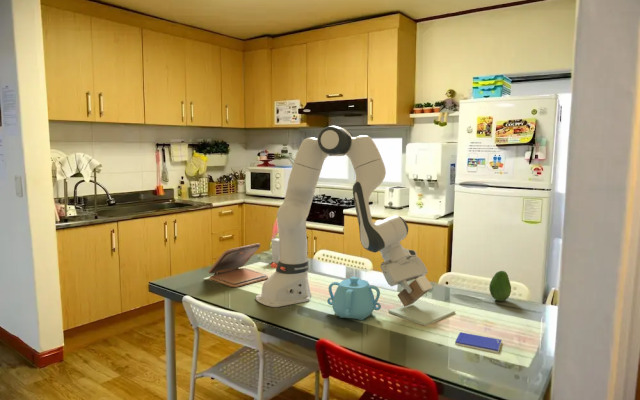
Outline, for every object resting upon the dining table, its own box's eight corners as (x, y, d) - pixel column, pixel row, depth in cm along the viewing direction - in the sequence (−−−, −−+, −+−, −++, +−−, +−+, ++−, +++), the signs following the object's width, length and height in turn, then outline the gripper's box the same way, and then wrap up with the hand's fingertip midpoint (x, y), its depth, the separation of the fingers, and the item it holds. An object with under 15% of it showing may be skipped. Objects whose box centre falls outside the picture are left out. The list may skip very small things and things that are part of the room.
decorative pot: (384, 319, 156) (385, 282, 154) (342, 326, 150) (343, 286, 149) (363, 304, 171) (364, 269, 169) (324, 309, 165) (325, 273, 164)
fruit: (510, 299, 178) (512, 269, 176) (510, 305, 171) (511, 274, 169) (489, 296, 181) (491, 267, 180) (487, 302, 174) (489, 272, 172)
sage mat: (425, 325, 151) (425, 323, 151) (388, 312, 163) (388, 310, 163) (455, 313, 162) (455, 310, 162) (418, 301, 174) (418, 299, 174)
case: (243, 270, 217) (242, 237, 215) (271, 279, 203) (270, 244, 201) (206, 279, 203) (205, 244, 201) (233, 289, 188) (232, 252, 186)
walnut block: (404, 306, 165) (424, 290, 158) (397, 294, 167) (416, 278, 160) (412, 303, 169) (432, 287, 161) (405, 292, 171) (425, 275, 163)
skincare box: (285, 263, 230) (285, 239, 228) (278, 264, 227) (277, 241, 225) (278, 260, 234) (278, 237, 233) (271, 262, 231) (271, 238, 230)
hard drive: (501, 339, 138) (460, 331, 144) (498, 349, 131) (455, 341, 137) (501, 343, 139) (460, 336, 144) (498, 354, 131) (454, 346, 137)
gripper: (383, 258, 161) (404, 291, 155) (418, 250, 174) (438, 280, 168) (373, 268, 165) (393, 300, 159) (408, 259, 178) (428, 288, 172)
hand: (417, 290), depth 163 cm, fingers open, 5 cm apart
